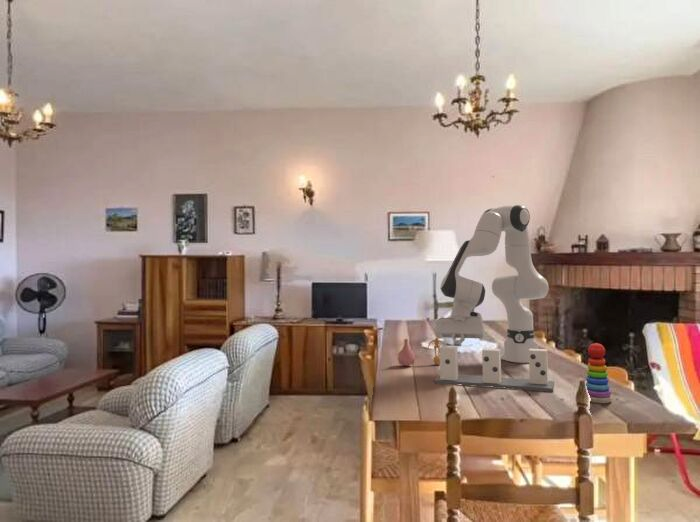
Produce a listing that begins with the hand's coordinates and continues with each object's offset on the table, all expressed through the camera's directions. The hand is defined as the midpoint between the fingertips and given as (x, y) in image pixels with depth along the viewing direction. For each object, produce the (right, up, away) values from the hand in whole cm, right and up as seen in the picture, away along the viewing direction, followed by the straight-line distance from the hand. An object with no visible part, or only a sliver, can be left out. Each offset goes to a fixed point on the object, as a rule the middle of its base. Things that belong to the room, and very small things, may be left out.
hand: (457, 345), depth 208 cm
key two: (+9, -11, -19) cm, 23 cm away
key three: (+25, -10, -22) cm, 35 cm away
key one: (-6, -11, -12) cm, 17 cm away
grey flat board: (+10, -12, -16) cm, 22 cm away
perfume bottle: (-18, -13, +20) cm, 30 cm away
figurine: (-4, -13, +23) cm, 26 cm away
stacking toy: (+37, -11, -42) cm, 57 cm away
